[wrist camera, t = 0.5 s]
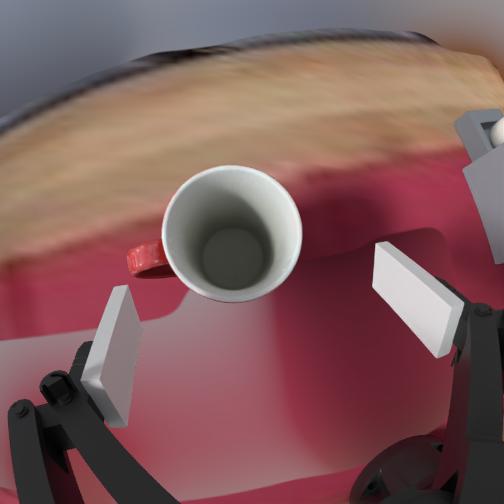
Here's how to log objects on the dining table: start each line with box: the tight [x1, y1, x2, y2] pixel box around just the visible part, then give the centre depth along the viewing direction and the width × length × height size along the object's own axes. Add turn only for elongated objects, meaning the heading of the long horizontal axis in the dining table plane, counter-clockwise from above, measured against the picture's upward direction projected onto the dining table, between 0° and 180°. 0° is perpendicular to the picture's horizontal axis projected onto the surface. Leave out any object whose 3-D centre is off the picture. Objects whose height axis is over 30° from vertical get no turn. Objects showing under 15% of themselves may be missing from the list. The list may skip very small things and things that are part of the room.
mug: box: [127, 165, 302, 303], centre depth 27 cm, size 13×9×14 cm
